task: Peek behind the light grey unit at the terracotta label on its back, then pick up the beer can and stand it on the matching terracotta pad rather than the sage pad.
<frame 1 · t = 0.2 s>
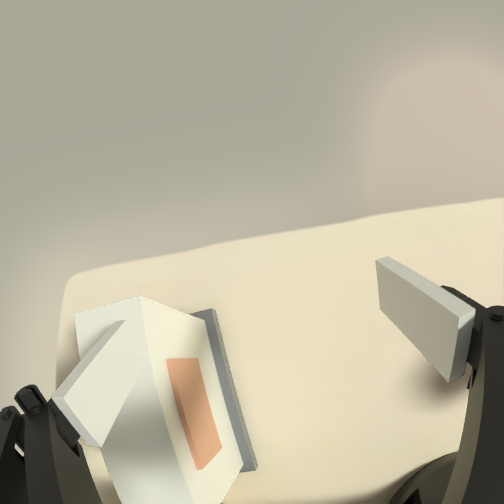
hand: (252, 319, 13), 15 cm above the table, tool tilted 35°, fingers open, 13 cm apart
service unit: (200, 398, 26), on the table
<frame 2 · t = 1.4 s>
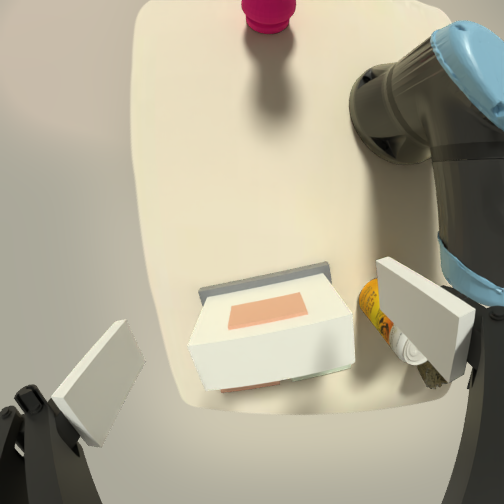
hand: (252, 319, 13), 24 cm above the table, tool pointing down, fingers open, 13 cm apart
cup: (422, 348, 42), on the table
beer can: (374, 294, 39), on the table
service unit: (268, 301, 39), on the table
pepper mill: (267, 19, 30), on the table
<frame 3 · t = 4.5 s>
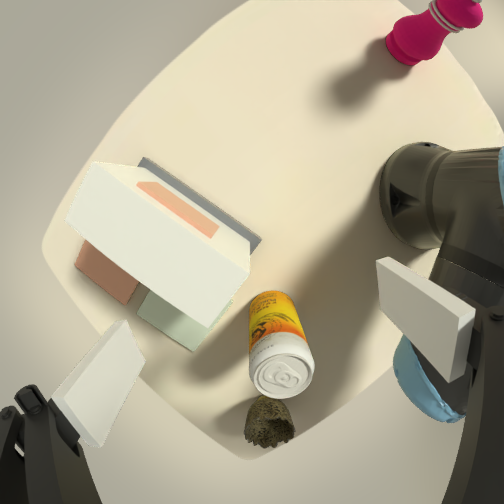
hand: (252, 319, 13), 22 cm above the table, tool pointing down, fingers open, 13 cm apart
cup: (267, 399, 42), on the table
beer can: (271, 308, 38), on the table
terracotta pad: (114, 256, 36), on the table
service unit: (184, 222, 35), on the table
sage pad: (182, 306, 37), on the table
pepper mill: (402, 49, 29), on the table
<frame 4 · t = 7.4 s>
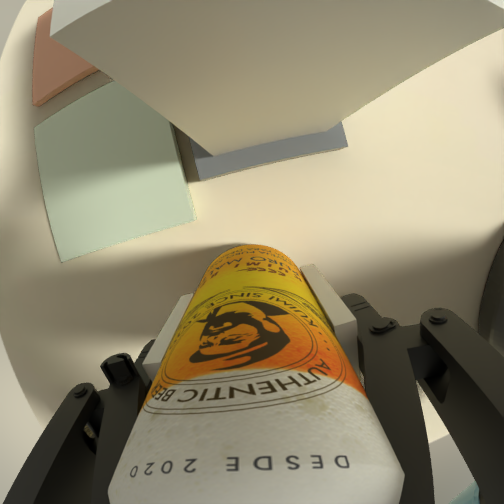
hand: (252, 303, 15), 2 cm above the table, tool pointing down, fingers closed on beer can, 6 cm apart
beer can: (252, 289, 17), on the table, touching gripper
terracotta pad: (87, 26, 12), on the table
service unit: (235, 33, 13), on the table
sage pad: (103, 165, 15), on the table
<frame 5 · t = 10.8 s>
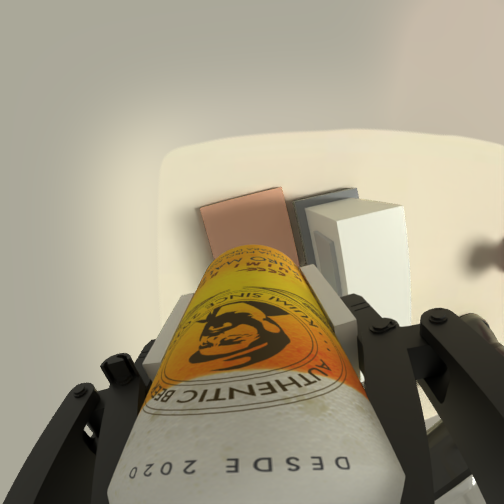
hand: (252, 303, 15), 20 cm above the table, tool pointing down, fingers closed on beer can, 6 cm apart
beer can: (252, 289, 17), point 18 cm above the table, touching gripper
terracotta pad: (250, 236, 34), on the table
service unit: (336, 262, 35), on the table
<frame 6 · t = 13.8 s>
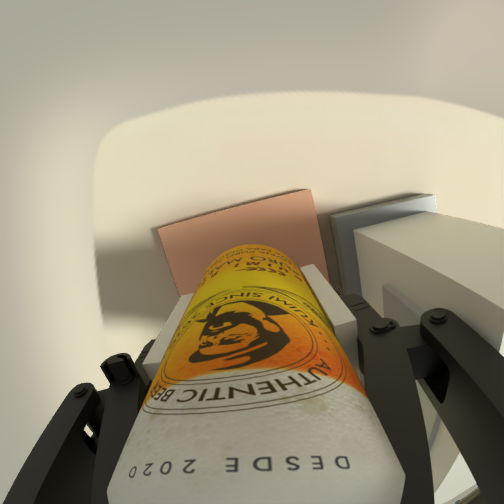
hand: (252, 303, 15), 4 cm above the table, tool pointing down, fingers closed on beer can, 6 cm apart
beer can: (252, 289, 17), point 2 cm above the table, touching gripper
terracotta pad: (252, 279, 19), on the table
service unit: (392, 315, 20), on the table
when the fingers open (4 cm above the table, at t = 14.2 s): beer can drops 1 cm, resting on terracotta pad.
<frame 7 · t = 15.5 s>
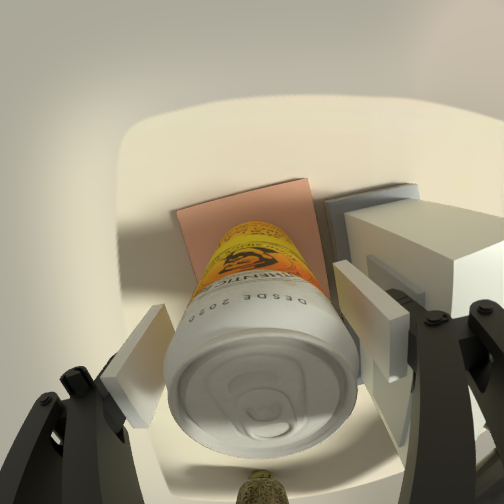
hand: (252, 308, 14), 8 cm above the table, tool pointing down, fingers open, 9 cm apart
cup: (261, 473, 30), on the table
beer can: (255, 258, 21), point 1 cm above the table, touching terracotta pad
terracotta pad: (257, 255, 22), on the table
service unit: (381, 291, 23), on the table
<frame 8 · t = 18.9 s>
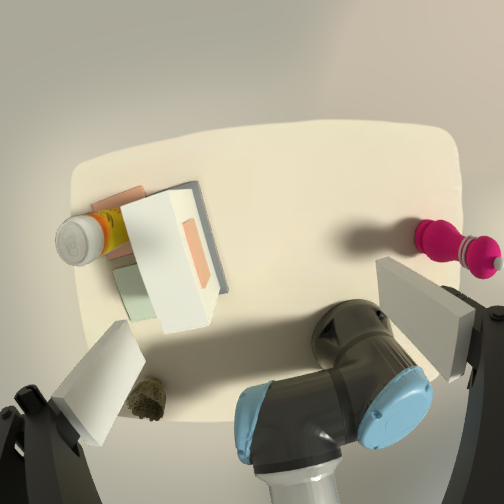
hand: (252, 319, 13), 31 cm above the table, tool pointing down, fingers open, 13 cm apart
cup: (155, 383, 50), on the table
beer can: (122, 224, 42), point 1 cm above the table, touching terracotta pad
terracotta pad: (124, 223, 43), on the table
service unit: (189, 242, 44), on the table
sage pad: (146, 290, 45), on the table
pepper mill: (426, 236, 44), on the table
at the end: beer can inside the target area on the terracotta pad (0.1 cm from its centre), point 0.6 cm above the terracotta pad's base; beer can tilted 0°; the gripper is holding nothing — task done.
